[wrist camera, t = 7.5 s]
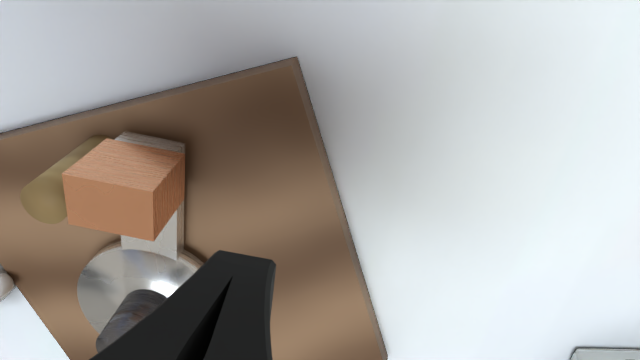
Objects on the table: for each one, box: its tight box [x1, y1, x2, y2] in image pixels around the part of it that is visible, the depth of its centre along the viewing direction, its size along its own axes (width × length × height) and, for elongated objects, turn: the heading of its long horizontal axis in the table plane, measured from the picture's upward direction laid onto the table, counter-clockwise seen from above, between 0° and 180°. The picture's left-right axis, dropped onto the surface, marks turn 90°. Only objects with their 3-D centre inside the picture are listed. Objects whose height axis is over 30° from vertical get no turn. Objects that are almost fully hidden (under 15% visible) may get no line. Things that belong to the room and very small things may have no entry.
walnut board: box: [0, 57, 387, 360], centre depth 21 cm, size 16×17×5 cm
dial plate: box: [62, 132, 204, 353], centre depth 20 cm, size 12×7×4 cm, turn 171°
